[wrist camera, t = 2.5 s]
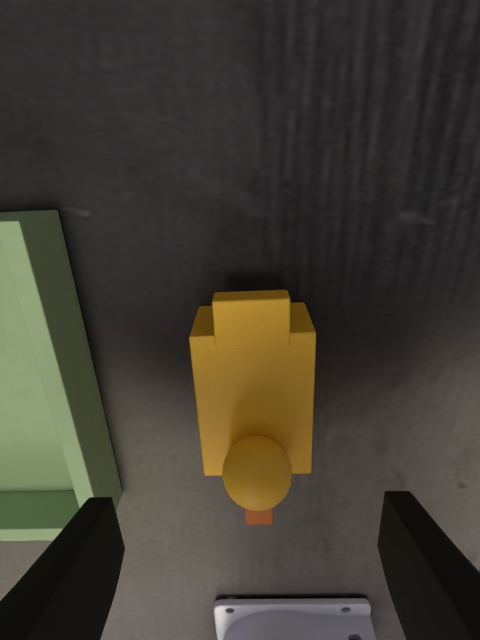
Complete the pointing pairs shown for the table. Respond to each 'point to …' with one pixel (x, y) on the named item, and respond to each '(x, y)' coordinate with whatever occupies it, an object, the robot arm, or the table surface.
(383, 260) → the table surface
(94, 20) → the table surface
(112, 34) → the table surface
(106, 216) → the table surface
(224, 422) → the toy duck
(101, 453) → the tray
